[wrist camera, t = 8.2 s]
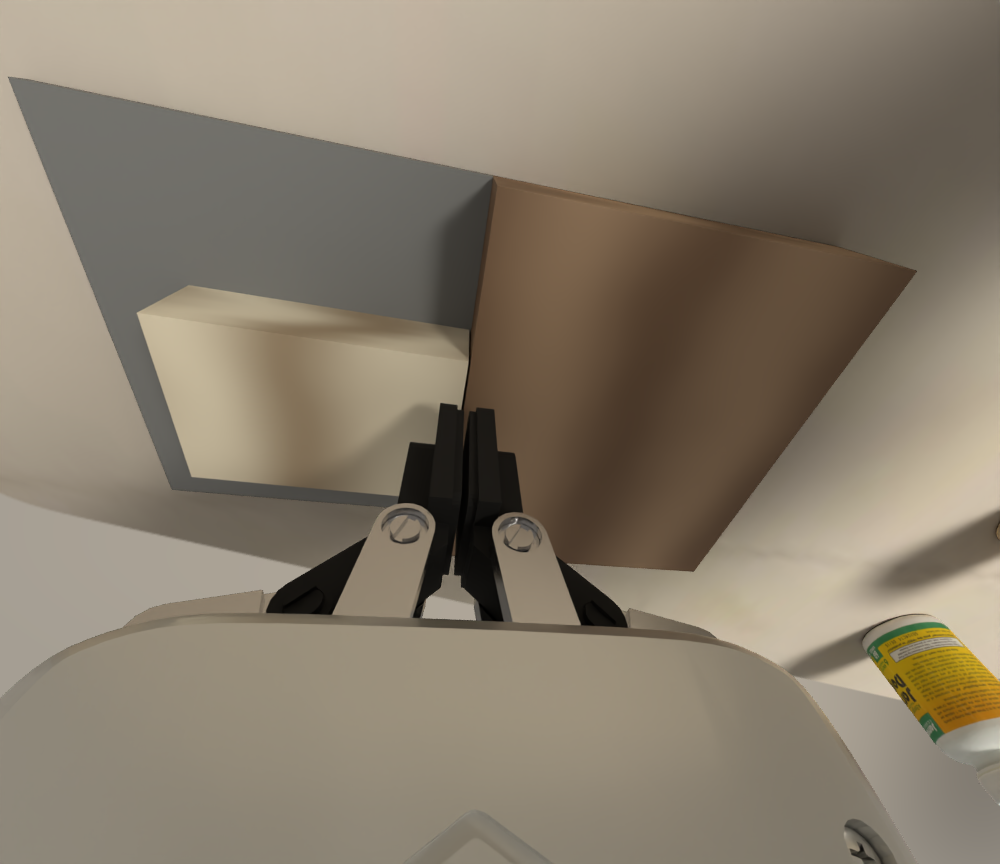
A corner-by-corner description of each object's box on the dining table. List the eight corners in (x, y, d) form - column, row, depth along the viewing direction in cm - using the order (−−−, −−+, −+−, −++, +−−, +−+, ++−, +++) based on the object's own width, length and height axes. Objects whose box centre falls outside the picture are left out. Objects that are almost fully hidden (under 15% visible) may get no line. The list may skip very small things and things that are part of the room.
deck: (839, 247, 14) (917, 271, 11) (669, 523, 22) (693, 571, 19) (492, 175, 12) (497, 185, 10) (445, 504, 20) (442, 555, 18)
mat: (492, 175, 12) (493, 176, 12) (445, 504, 20) (445, 512, 20) (25, 78, 10) (7, 76, 10) (178, 482, 18) (171, 489, 18)
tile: (469, 329, 14) (468, 361, 12) (449, 459, 18) (446, 500, 16) (188, 285, 13) (136, 313, 11) (225, 434, 16) (191, 476, 14)
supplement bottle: (944, 629, 31) (1101, 793, 23) (869, 655, 33) (991, 815, 25) (929, 602, 29) (1099, 777, 21) (849, 633, 31) (977, 802, 23)
